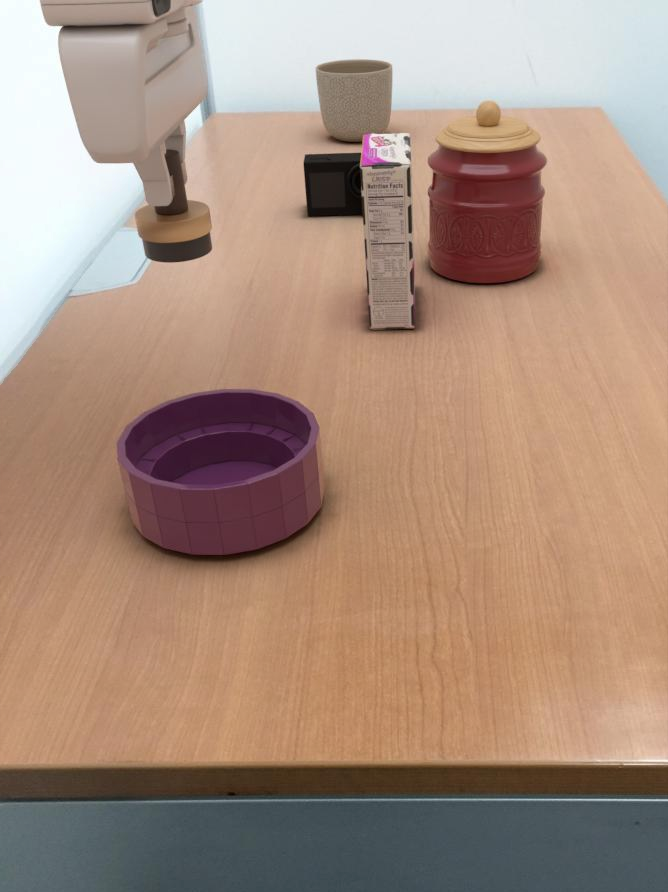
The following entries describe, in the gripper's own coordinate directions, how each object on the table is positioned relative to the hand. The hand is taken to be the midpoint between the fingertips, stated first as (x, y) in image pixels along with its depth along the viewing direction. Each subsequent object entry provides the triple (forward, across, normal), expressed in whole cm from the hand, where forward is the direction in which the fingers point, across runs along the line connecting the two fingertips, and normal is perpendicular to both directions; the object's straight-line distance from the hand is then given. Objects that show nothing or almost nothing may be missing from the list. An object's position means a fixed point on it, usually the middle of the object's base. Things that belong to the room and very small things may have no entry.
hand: (168, 195), depth 69 cm
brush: (+4, 0, 0) cm, 4 cm away
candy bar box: (+20, -26, +14) cm, 35 cm away
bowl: (+20, +11, +4) cm, 23 cm away
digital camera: (+20, -59, +6) cm, 62 cm away
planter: (+20, -99, +5) cm, 101 cm away
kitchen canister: (+20, -39, +24) cm, 50 cm away
